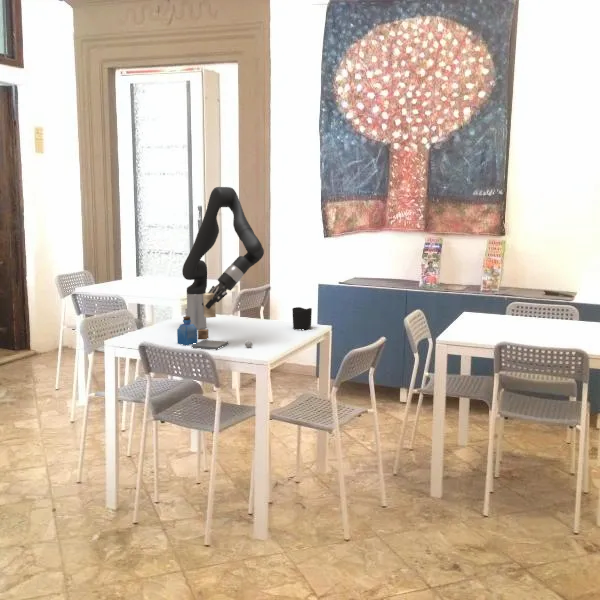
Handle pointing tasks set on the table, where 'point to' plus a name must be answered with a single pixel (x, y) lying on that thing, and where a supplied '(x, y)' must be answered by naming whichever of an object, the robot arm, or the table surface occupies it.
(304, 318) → the pen holder
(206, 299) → the mottled tan cylinder
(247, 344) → the grey ball
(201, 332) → the walnut cube
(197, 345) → the trivet
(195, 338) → the perfume bottle
